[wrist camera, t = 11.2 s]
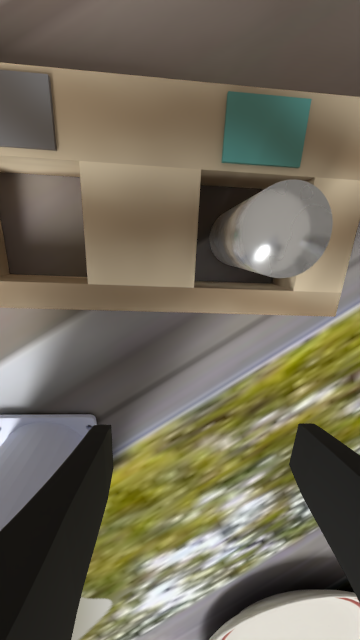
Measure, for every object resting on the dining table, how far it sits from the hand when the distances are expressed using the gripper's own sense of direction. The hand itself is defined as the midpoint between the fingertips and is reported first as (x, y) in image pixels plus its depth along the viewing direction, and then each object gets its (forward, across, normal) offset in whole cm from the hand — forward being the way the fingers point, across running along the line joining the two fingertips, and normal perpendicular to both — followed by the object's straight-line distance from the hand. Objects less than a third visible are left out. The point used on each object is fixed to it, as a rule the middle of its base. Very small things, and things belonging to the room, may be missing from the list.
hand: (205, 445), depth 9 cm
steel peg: (+9, -3, -8) cm, 13 cm away
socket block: (+9, +3, -9) cm, 13 cm away
